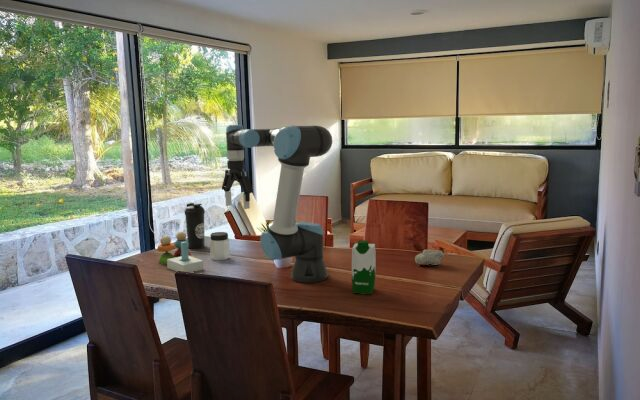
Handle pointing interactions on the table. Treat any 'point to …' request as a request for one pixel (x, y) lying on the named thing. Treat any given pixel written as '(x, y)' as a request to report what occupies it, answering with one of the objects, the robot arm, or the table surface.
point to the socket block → (185, 264)
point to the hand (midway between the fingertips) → (237, 207)
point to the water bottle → (195, 225)
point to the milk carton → (363, 267)
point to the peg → (184, 251)
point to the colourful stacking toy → (171, 247)
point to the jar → (219, 246)
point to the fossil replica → (429, 257)
